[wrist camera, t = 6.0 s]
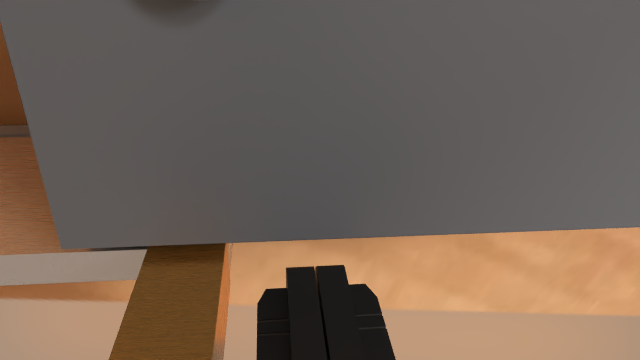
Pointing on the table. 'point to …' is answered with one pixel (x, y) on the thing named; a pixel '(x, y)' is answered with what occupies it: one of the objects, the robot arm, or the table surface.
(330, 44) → the grey box machine
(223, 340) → the side door
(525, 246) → the table surface
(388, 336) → the robot arm
